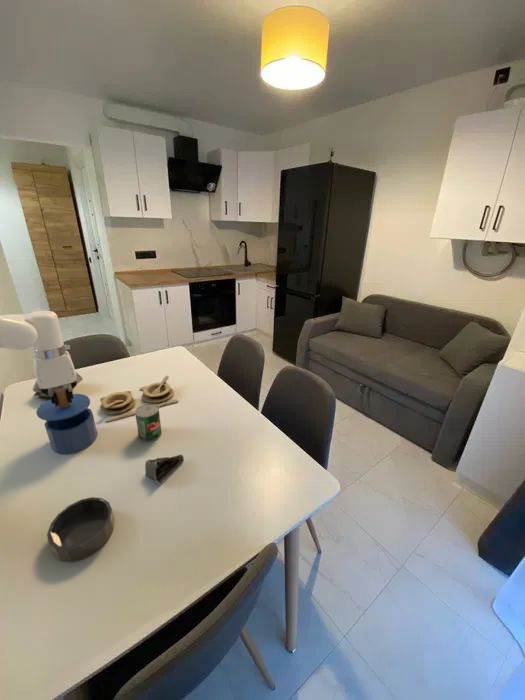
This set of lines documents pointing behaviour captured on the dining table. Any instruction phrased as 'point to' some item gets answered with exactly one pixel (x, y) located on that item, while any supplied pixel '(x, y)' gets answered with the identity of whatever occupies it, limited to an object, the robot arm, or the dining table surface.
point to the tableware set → (125, 400)
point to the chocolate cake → (163, 467)
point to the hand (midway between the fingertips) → (63, 402)
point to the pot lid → (63, 406)
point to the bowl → (81, 529)
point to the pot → (72, 433)
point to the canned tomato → (148, 422)
